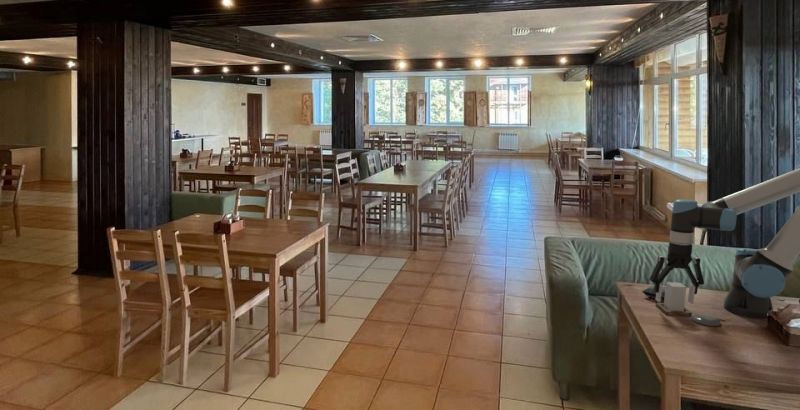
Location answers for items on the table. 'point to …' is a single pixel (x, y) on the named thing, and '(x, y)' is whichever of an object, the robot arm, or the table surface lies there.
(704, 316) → the grey disc
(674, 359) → the table surface
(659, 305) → the walnut holder
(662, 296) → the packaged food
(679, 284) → the grey block
